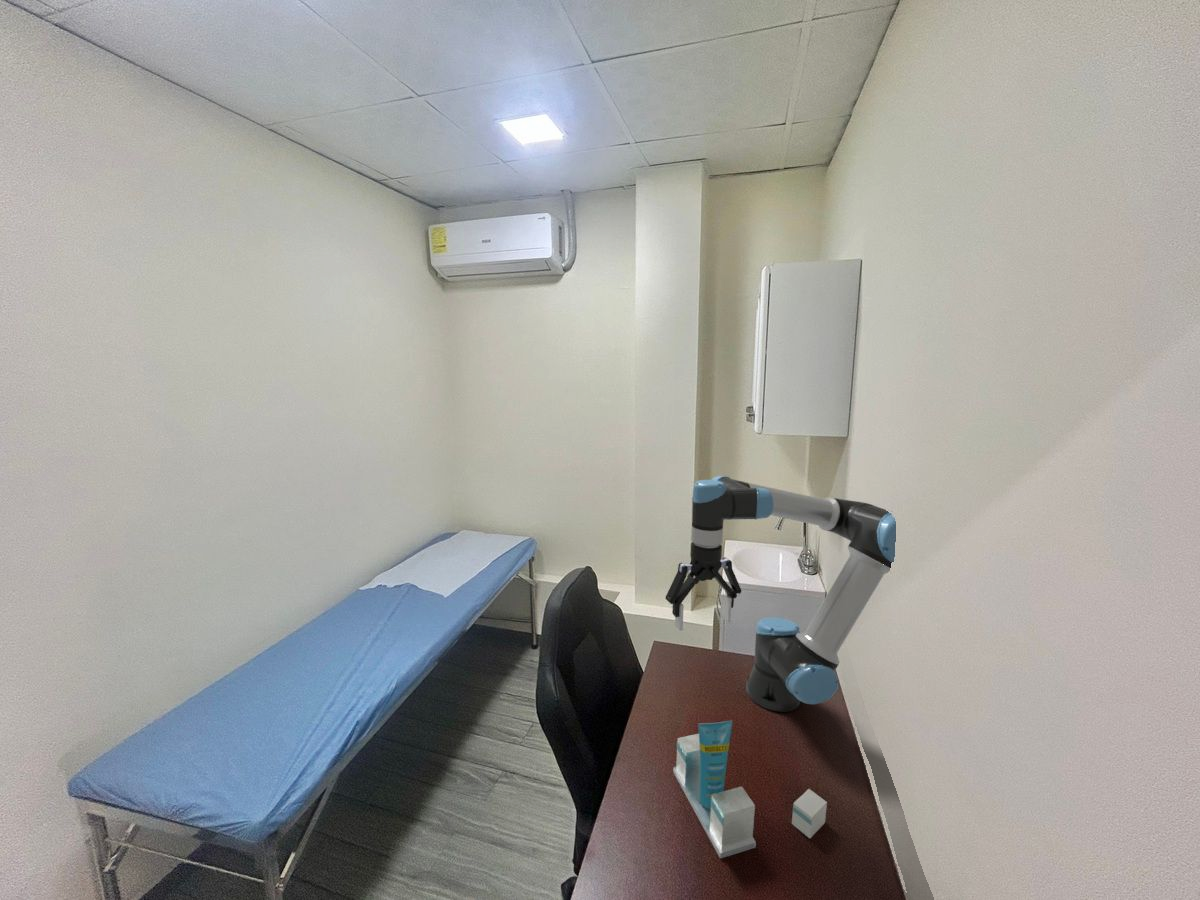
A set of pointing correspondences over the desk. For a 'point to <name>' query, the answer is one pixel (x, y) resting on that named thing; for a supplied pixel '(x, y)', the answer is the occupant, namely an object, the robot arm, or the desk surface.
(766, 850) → the desk surface
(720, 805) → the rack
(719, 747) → the tube
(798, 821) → the block
